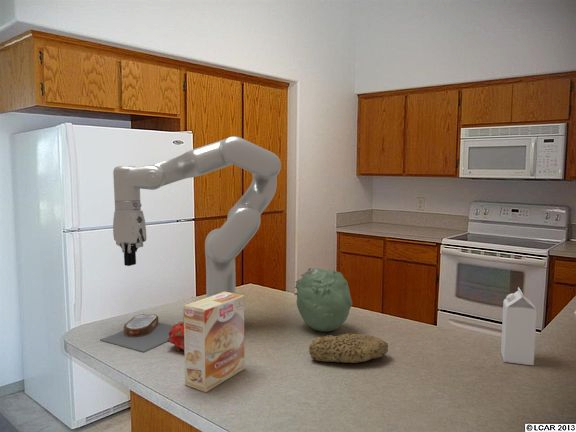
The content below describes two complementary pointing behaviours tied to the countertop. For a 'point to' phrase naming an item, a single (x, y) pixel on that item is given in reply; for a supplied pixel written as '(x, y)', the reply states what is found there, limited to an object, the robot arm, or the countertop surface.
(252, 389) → the countertop surface
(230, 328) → the coffeecake box
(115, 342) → the mat
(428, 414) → the countertop surface
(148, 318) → the tin
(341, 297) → the cabbage
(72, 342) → the countertop surface
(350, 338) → the sponge
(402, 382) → the countertop surface
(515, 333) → the milk carton
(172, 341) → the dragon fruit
